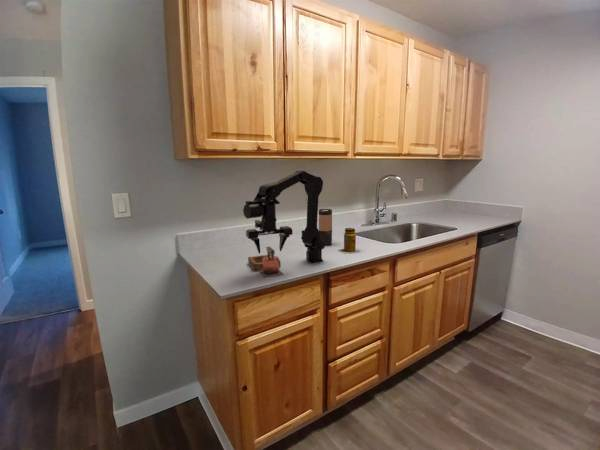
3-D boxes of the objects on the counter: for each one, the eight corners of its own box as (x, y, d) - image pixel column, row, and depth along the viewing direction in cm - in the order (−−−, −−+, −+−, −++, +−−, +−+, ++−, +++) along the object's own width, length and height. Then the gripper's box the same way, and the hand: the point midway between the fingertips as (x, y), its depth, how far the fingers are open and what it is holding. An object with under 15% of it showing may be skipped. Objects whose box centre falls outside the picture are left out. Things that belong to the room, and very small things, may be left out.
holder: (272, 260, 151) (272, 254, 150) (280, 267, 140) (280, 261, 139) (248, 263, 146) (248, 257, 146) (254, 271, 135) (254, 264, 135)
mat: (277, 268, 138) (277, 267, 138) (283, 274, 131) (283, 273, 131) (258, 271, 135) (258, 270, 135) (263, 277, 128) (263, 276, 128)
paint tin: (276, 268, 137) (275, 245, 136) (281, 273, 131) (280, 249, 129) (260, 270, 135) (260, 247, 133) (265, 275, 128) (264, 251, 127)
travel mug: (331, 242, 182) (331, 208, 178) (332, 246, 175) (333, 210, 171) (318, 242, 182) (317, 209, 178) (319, 246, 174) (319, 211, 170)
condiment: (358, 251, 163) (359, 229, 161) (345, 253, 159) (345, 230, 157) (350, 248, 169) (351, 226, 167) (337, 250, 166) (337, 228, 164)
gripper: (283, 211, 139) (284, 245, 142) (242, 214, 132) (244, 249, 135) (292, 215, 129) (293, 251, 132) (247, 218, 122) (249, 256, 125)
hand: (270, 252), depth 131 cm, fingers open, 9 cm apart
